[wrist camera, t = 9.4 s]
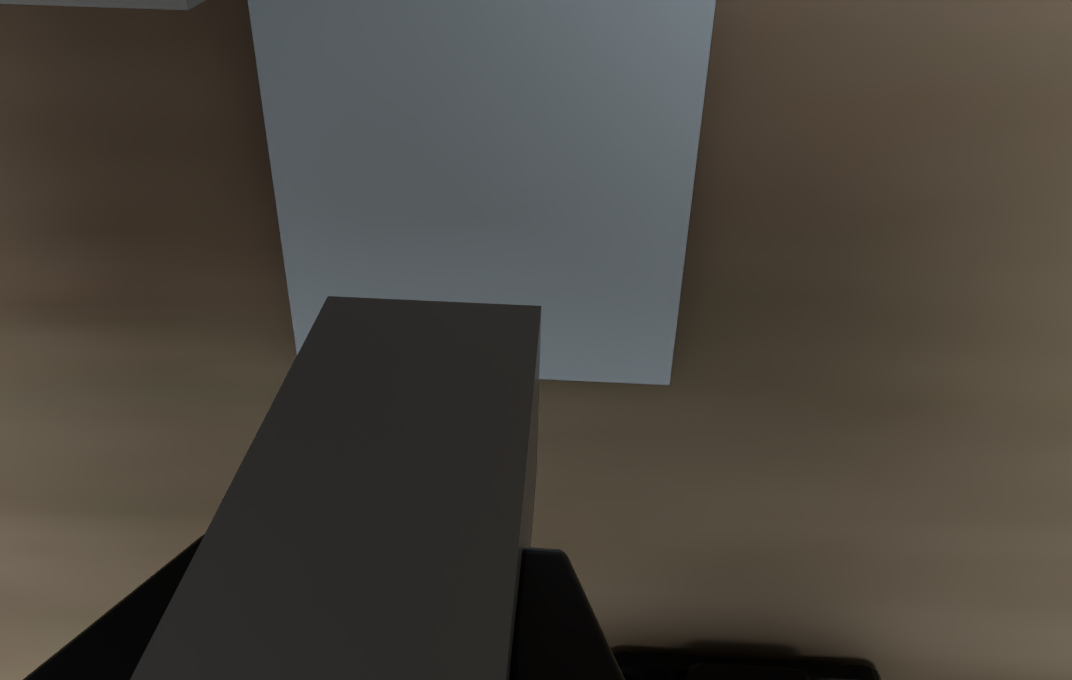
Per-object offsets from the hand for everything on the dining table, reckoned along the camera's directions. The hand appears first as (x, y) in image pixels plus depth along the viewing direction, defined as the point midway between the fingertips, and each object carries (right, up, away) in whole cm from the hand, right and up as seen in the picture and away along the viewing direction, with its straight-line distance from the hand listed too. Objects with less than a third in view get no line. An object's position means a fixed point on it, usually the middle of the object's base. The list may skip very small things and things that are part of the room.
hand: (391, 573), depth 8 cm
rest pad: (0, +5, +7) cm, 9 cm away
